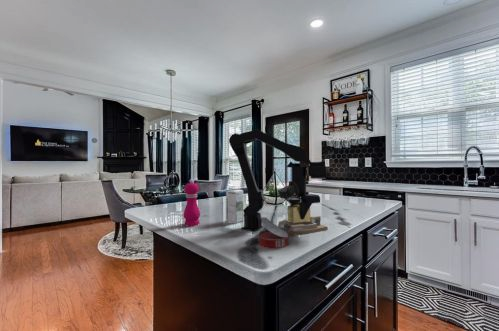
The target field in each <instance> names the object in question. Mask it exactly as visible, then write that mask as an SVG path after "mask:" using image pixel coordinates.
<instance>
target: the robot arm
mask: <svg viewBox="0 0 499 331" xmlns="http://www.w3.org/2000/svg"><path fill="white" fill-rule="evenodd" d="M257 140H258V141H260V142H262V143H264V144H266V145H268V146H270V147H271V148H274V149H277V150H278V151H280V152H282V153H283V154H284V155H286V156H288V157H289V158H290V159H292V160H293V161H294V162H295V163H294V162H292V161H289V164H287V165H286V167H287V168H291V169H290V170H291V172H290V174H291V175H290V176H291V180H289V182H288V185H286V186H284V187H283V188H280V189H278V194H279V197H280V199H283V200H285V201H286V202H287V203H288V204H289V206H290V205H299V206H300V215H301V219H304V218H305V216H306V214H307V212H308V210H309V208H310V209H311V206H312V204H318V203H321V196H320V195H319V194H314V193H310V192H309V191H307V185H309V181H307V176H308V177H310V179H311V180H315V179H318V180H319V179H320V180H324V179H325V180H326V179H327V168H326V162H325V160H324V161H311V159H310V158H308V156H307V152H306V149H305V148H304V147H302V146H299V145H295V144H291V143H287V142H284V141H283V140H280V139H278V138H276V137H274V136H271V134H267V133H266V132H264V131H261V130H260V129H258V128H255V129H253V130H249V131H245V132H242V133H234V134H233V133H232V134H231V135H230V137H229V138H228V144H229V145H230V148H231V150H232V151H233V153H234V154H235V156H236V157H237V160H238V163H239V167H240V170H241V172H242V176H243V180H244V183H245V185H246V188H247V201H248V205H246V207H245V208H243V226H242V227H241V229H242V230H247V231H252V232H256V231H258V230H260V229H262V228H264V225H263V223H262V216H261V215H262V213H261V212H259V211H261V210H262V209H263V207H264V205H265V202H266V201H265V200H266V198H267V197H265V195H264V189H259V187H258V185H257V182H256V179H255V176H254V172H253V169H252V167H251V164H250V160H249V157H248V148H247V147H248V146H247V144H251V143H252V142H254V141H257ZM300 162H301V163H303V164H304V165H301V163H300Z"/></svg>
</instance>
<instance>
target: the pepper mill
mask: <svg viewBox="0 0 499 331" xmlns="http://www.w3.org/2000/svg"><path fill="white" fill-rule="evenodd" d="M184 192H185V193H186V194H185V198H186V206H185V208H184V211H183V215H182V216H183V218H184V219H185V220H184V226H185V225H188V226H187V227H195V226H194V225H197V226H199V225H200V219H199V218H201V210H200V208H199V206H198V201H197V198H198V192H199V185H198V184H197V183H195V182H194V179H193V178H191V179H189V183H187V184H185V186H184ZM198 224H199V225H198Z"/></svg>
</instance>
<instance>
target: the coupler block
mask: <svg viewBox="0 0 499 331" xmlns="http://www.w3.org/2000/svg"><path fill="white" fill-rule="evenodd" d="M286 212H287V220H288V221H289V222H292V223H297V222H305V221H310V216H311V207H310V208H309V210H308V212H307V214H306V216H305V218H304V219H301V215H300V206H299V205H290V204H289V205H287V211H286Z"/></svg>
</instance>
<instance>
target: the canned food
mask: <svg viewBox="0 0 499 331" xmlns="http://www.w3.org/2000/svg"><path fill="white" fill-rule="evenodd" d="M261 218H262V226H263V227H264V228H265V229H266V231H265V230H264V231H261V232H260V233H258V245H259V246H260V247H262V248H265V249H274V250H275V249H276V250H278V249H284V248H286V247H288V246H289V236H288V234H287V233H286V232H285V231H284V230H282V229H281V228H279V227H278V225H276V224H275V223H273V222H272V221H270V220H269V219H268V218H267V217H266V216H265V217H262V216H261Z"/></svg>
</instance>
